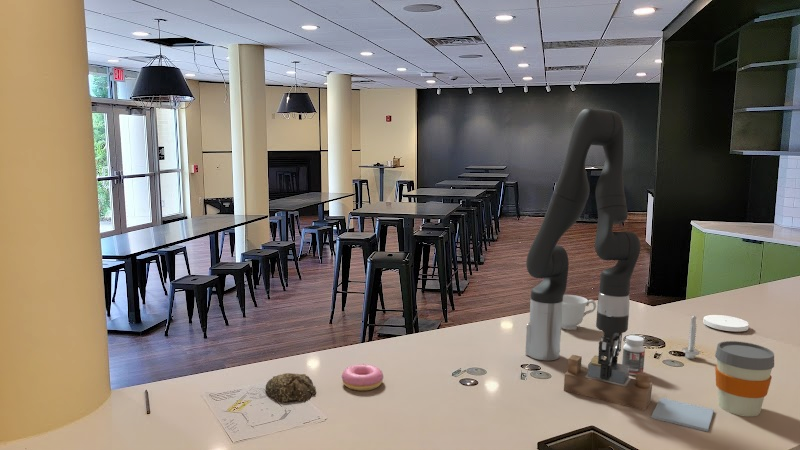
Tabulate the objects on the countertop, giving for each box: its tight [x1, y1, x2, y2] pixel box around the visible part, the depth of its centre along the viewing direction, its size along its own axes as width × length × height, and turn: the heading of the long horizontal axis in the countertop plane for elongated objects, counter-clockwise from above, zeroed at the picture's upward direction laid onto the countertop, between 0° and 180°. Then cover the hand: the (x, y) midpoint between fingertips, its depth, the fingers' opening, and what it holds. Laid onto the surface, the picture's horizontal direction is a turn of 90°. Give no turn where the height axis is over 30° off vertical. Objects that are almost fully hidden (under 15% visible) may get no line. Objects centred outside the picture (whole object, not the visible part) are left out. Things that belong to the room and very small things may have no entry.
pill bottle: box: [621, 335, 646, 376], centre depth 172 cm, size 6×6×10 cm
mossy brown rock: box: [265, 372, 317, 403], centre depth 156 cm, size 13×12×5 cm
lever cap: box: [587, 354, 630, 384], centre depth 157 cm, size 9×5×4 cm, turn 58°
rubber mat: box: [650, 397, 715, 432], centre depth 147 cm, size 12×12×1 cm
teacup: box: [561, 294, 597, 331], centre depth 211 cm, size 12×15×10 cm
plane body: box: [563, 354, 653, 411], centre depth 157 cm, size 20×7×8 cm, turn 58°
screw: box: [681, 315, 701, 360], centre depth 184 cm, size 13×5×5 cm
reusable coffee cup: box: [714, 340, 775, 417], centre depth 150 cm, size 13×13×15 cm
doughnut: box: [341, 363, 384, 392], centre depth 162 cm, size 11×11×4 cm
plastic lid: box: [703, 314, 750, 333], centre depth 216 cm, size 14×14×2 cm
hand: (608, 374), depth 157 cm, fingers open, 6 cm apart
